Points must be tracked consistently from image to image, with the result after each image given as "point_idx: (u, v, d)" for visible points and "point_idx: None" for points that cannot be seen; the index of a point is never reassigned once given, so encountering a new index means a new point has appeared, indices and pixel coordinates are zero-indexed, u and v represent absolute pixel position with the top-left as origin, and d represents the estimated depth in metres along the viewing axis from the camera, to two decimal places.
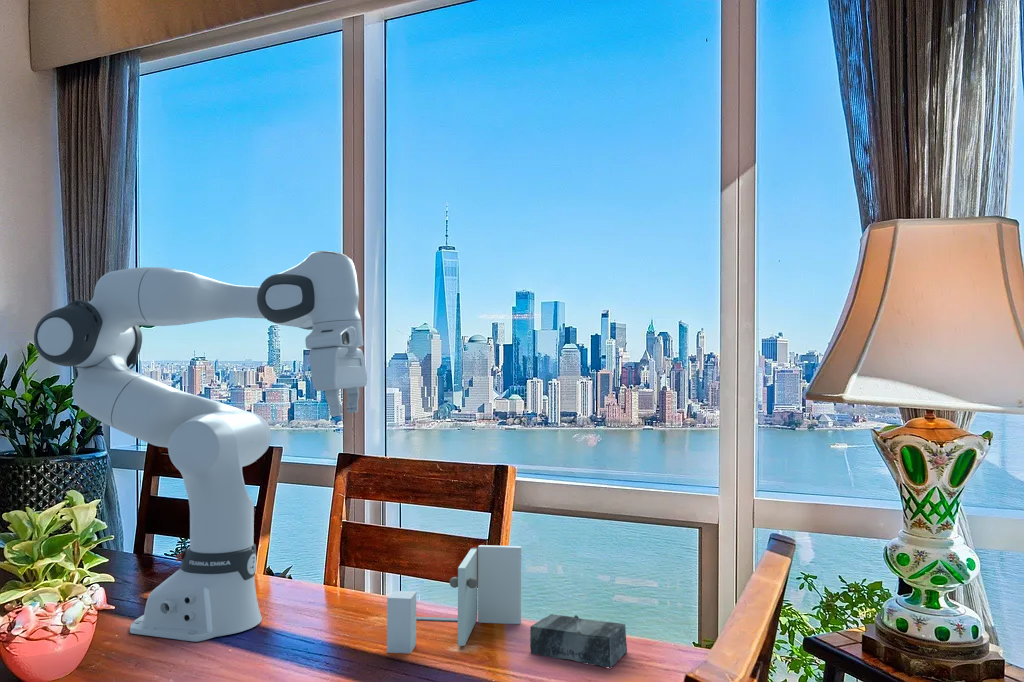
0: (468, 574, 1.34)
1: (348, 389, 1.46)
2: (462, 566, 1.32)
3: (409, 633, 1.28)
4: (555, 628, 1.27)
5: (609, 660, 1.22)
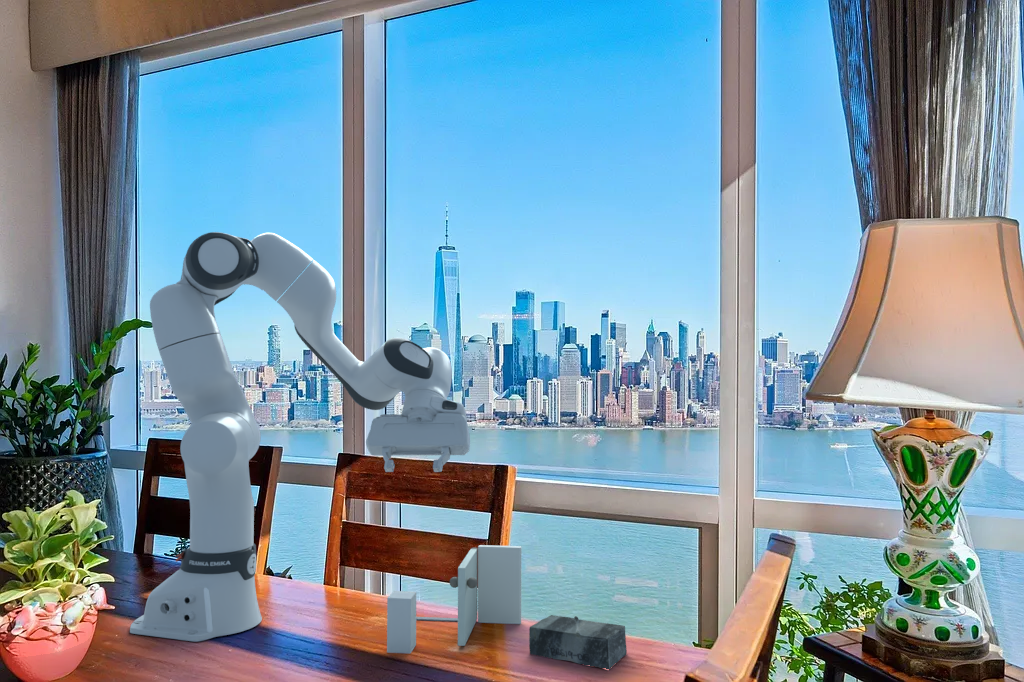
0: (468, 574, 1.34)
1: (390, 449, 1.50)
2: (462, 566, 1.32)
3: (409, 633, 1.28)
4: (554, 629, 1.26)
5: (607, 662, 1.21)
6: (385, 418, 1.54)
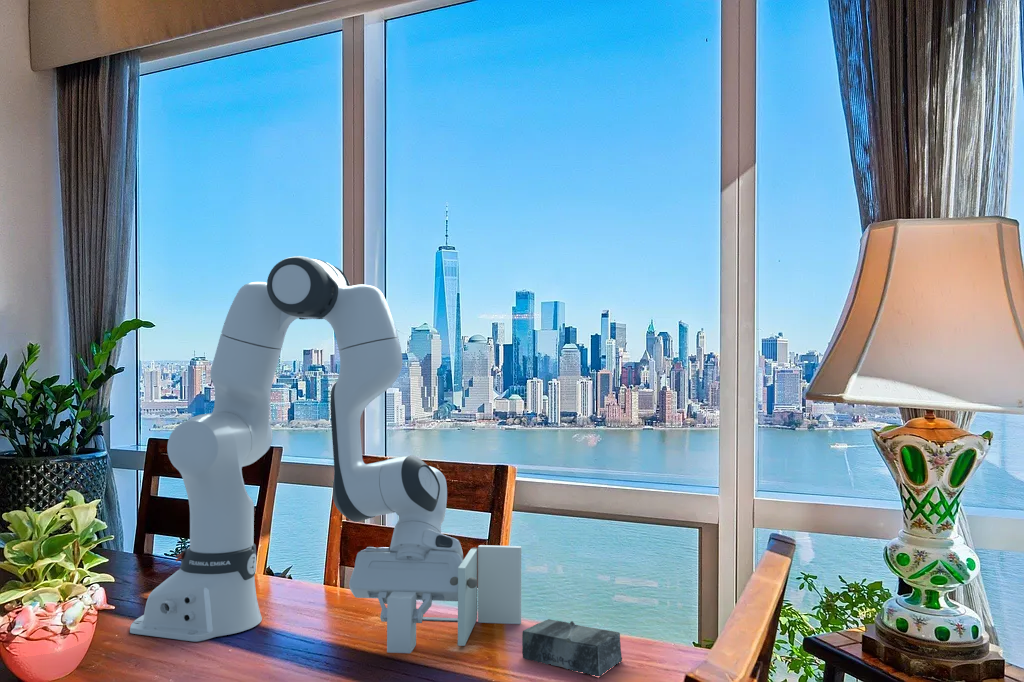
0: (468, 574, 1.34)
1: (387, 593, 1.33)
2: (462, 566, 1.32)
3: (409, 633, 1.28)
4: (546, 634, 1.24)
5: (597, 669, 1.18)
6: (371, 554, 1.38)
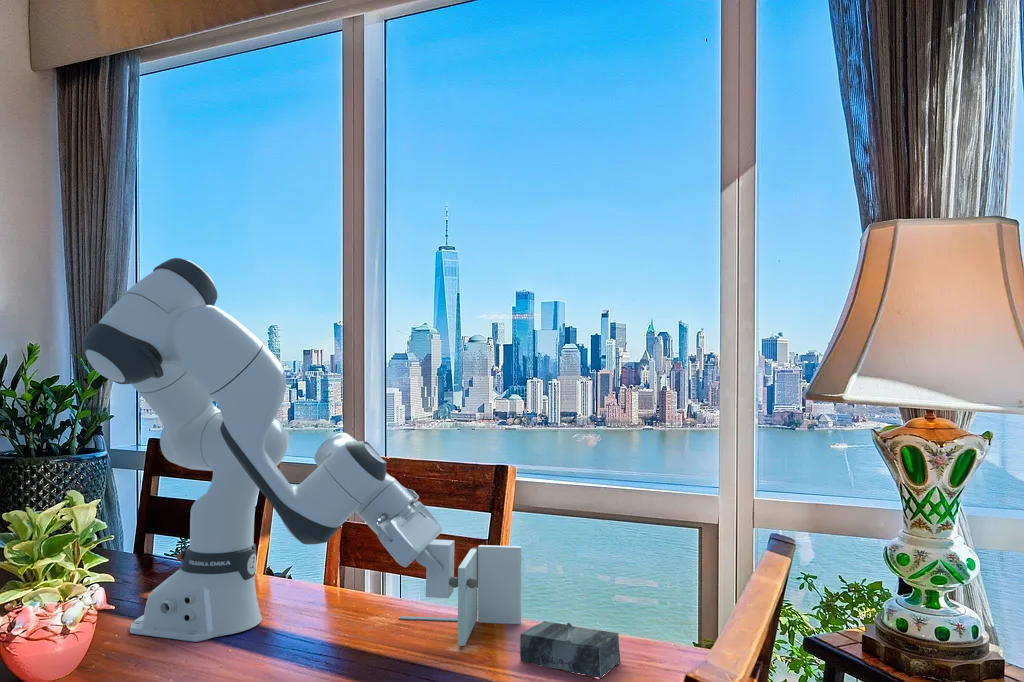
0: (468, 574, 1.34)
1: None
2: (462, 566, 1.32)
3: (453, 573, 1.36)
4: (545, 636, 1.23)
5: (599, 671, 1.18)
6: (395, 521, 1.28)
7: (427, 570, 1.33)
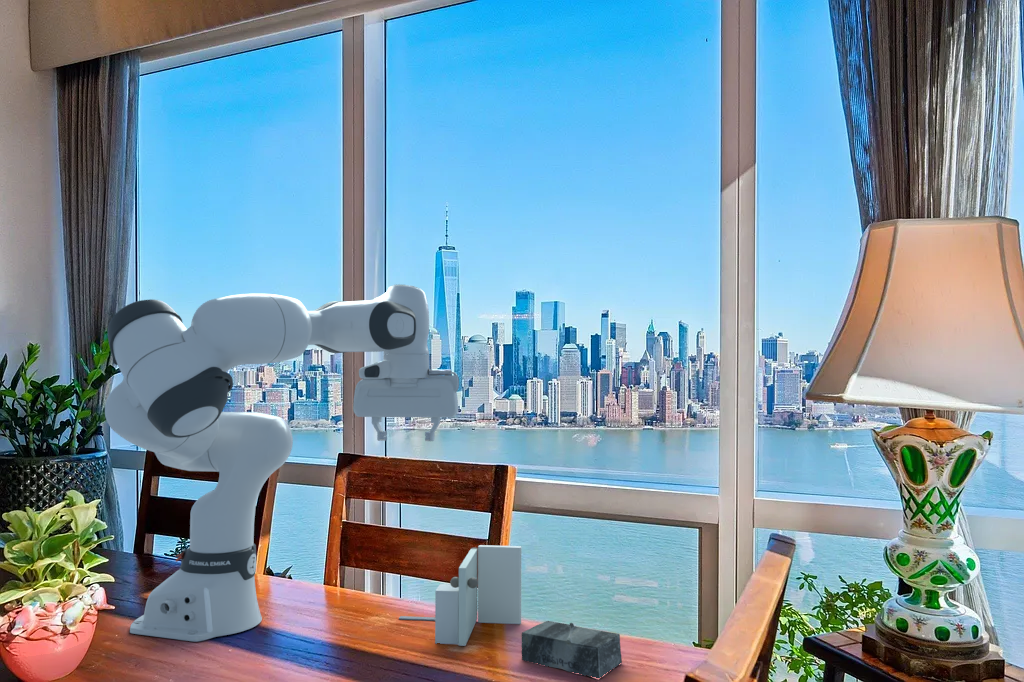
0: (469, 574, 1.34)
1: None
2: (463, 566, 1.32)
3: None
4: (546, 636, 1.23)
5: (598, 671, 1.17)
6: None
7: (436, 616, 1.33)
